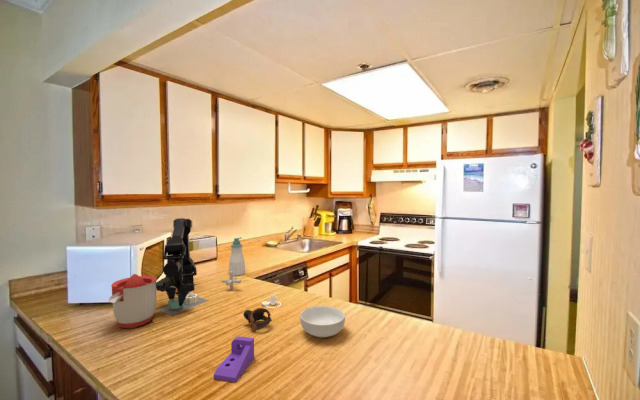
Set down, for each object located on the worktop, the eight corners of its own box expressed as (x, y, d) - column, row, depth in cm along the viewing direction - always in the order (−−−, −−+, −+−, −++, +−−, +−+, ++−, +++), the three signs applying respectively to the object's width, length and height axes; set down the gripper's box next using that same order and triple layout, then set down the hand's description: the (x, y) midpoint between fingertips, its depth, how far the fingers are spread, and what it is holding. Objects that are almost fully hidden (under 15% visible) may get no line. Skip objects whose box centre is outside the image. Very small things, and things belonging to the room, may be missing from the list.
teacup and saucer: (259, 307, 135) (259, 298, 135) (267, 301, 143) (267, 292, 143) (277, 309, 133) (277, 300, 132) (283, 303, 140) (283, 294, 140)
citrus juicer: (98, 329, 113) (96, 278, 113) (139, 311, 130) (138, 267, 129) (127, 336, 108) (125, 283, 107) (166, 317, 124) (165, 270, 124)
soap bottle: (248, 273, 188) (247, 237, 187) (236, 277, 180) (235, 240, 179) (237, 270, 193) (237, 236, 193) (225, 274, 185) (225, 238, 184)
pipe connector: (243, 287, 161) (243, 269, 161) (237, 293, 151) (236, 274, 151) (226, 286, 162) (226, 269, 162) (218, 293, 152) (218, 274, 152)
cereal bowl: (312, 349, 100) (312, 328, 99) (293, 328, 114) (293, 310, 114) (353, 337, 107) (353, 318, 107) (331, 319, 122) (331, 302, 122)
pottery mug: (274, 322, 121) (275, 309, 116) (264, 342, 113) (265, 329, 109) (248, 312, 123) (248, 299, 118) (236, 331, 115) (236, 318, 111)
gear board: (156, 312, 129) (156, 299, 129) (194, 298, 145) (194, 287, 145) (171, 318, 123) (171, 304, 123) (209, 302, 140) (209, 291, 139)
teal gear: (165, 307, 130) (165, 300, 130) (178, 302, 135) (178, 296, 135) (174, 310, 127) (173, 303, 127) (186, 305, 132) (186, 298, 132)
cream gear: (180, 303, 136) (180, 296, 136) (192, 298, 142) (192, 292, 142) (189, 305, 133) (189, 299, 133) (201, 301, 139) (201, 294, 139)
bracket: (234, 356, 96) (234, 335, 95) (254, 359, 94) (254, 338, 94) (213, 379, 84) (213, 356, 84) (235, 383, 82) (235, 359, 82)
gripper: (145, 271, 128) (146, 306, 129) (170, 278, 119) (171, 315, 119) (169, 265, 138) (170, 298, 138) (195, 271, 128) (195, 306, 129)
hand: (176, 304), depth 131 cm, fingers closed on teal gear, 6 cm apart
